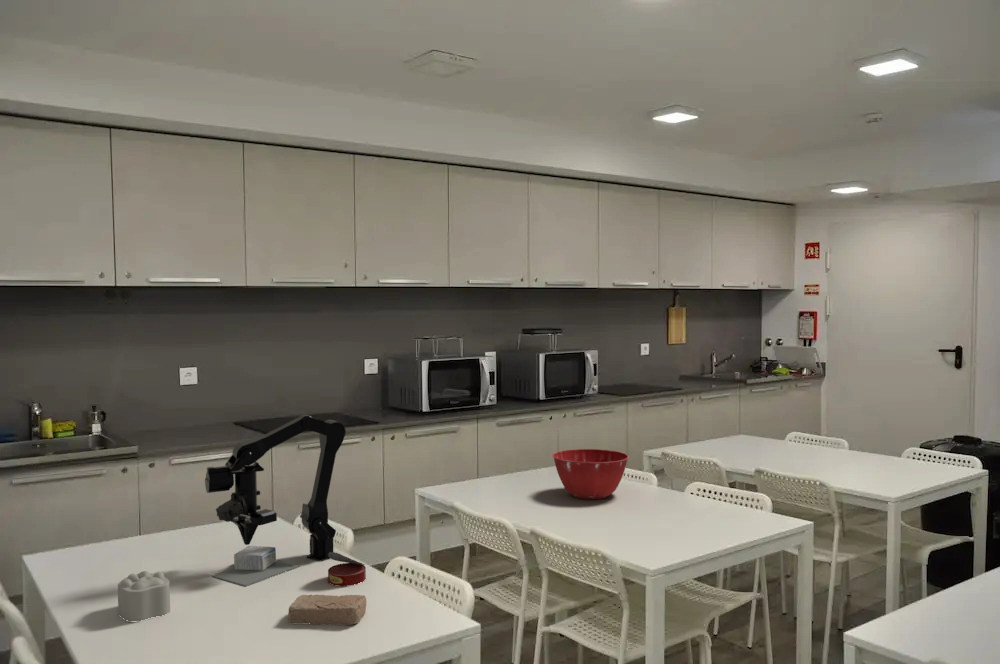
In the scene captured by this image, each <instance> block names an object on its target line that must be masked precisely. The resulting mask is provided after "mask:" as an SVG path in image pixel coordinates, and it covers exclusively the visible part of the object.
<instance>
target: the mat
mask: <svg viewBox="0 0 1000 664" xmlns="http://www.w3.org/2000/svg"><path fill="white" fill-rule="evenodd" d="M297 567H298V568H300V565H297V564H292V563H289V562H285V561H281V560H277V559H276V562H275V563H273V564H272V565H270V566H269V567H267V568H266V569H264V570H263V571H255V570H235V569H234V567H233V568H231V569H230V568H229V569H228V570H225V571H221V572H218V573H216V574H213V575H211V577H212V578H215V579H219V580H222V581H226V582H229V583H233V584H236V585H240V586H243V587H248V586H250V585H254V584H257V583H260V582H262V581H265V580H268V579H270V577H271V578H273V577H275V575H276V576H278V574H279V575H281V573H282V574H284V573H286V572H285V571H287V572H289V571H288V570H290V571H292V569H293V570H295V569H298V568H297ZM294 568H295V569H294ZM283 572H284V573H283ZM272 576H273V577H272ZM267 578H268V579H267Z"/></svg>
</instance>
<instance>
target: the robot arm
mask: <svg viewBox="0 0 1000 664" xmlns="http://www.w3.org/2000/svg"><path fill="white" fill-rule="evenodd" d="M307 430H308V431H311V432H313V433H317V434H319V436H318V438H319V447H320V453H319V457H318V462H317V468H316V472H315V478H314V482H313V488H312V493H311V497H310V500H309V501H308V503H302V506H301V507H302V510H301V512H300V513H301V514H300V515H299V518H300V519H301V524H302V525H303V527H304V528H305V529H306V530H308V532H309V534H310V535H309V538H310V539H309V554H307V555H306V558H307V559H308V558H309V559H313V560H317V561H321V562H323V561H324V560H327V559H330V558H329V557H328V554H329V552H334V538H335V535H336V532H337V530H336V529H335V528H334V527H333V526H331V525H330V524H329V510H328V509H329V508H328V497H329V491H330V486H331V482H332V481H331V480H332V475H333V471H334V466H335V460H336V456H337V453H338V451H339V449H340V448H341V446H342V444H343V441H344V439H345V437H346V432H347V430H346V427H345V426H344V424H343V423H341V422H338V421H337V420H333V419H326V420H322V419H319V418H316V417H312V416H311V415H308V414H306V413H305V414H301V415H299V416H298V417H297V418H294V419H293V420H291V421H289V422H286V423H285V424H283V425H280V426H279V427H278V428H275V429H273V430H271V431H269V432H267V433H266V434H263V435H260V436H258V437H252V438H249V439H246V440H243V441H239V442H237V443H235V445H234V446H233V448H232V454H231V455H230V457H229V459H228V460H227V461H226V463H225V464H224V465H223V466H215V467H214V466H208V467H207V468H206V474H205V478H204V486H205V491H206V493H207V494H211V493H221V492H227V491H230V489H232V488H233V486H234V492H231V494H230V499H229V500H227V501H225V502H224V503H222V504H220V505H219V506H218V507H217V508H216V509H215V511H216V516H217V517H218V519H219V521H225V522H227V523H229V522H231V523H233V524H234V525H236V526H237V528H238V531H239V533H240V535H241V538H242V541H243V544H244V545H246V546H249V545H250V544H251V542H252V540H253V538H254V536H255V533H256V530H257V529H258V527H259V526H263V525H267V524H270V523H274V522H276V521H278V517H277V515H278V513H277V512H276V511H275V510H272V509H267V508H265V509H262V510H261V505H258V496H261V491H260V490H258V488H257V487H258V486H257V484H258V483H257V482H258V481H257V478H258V477H257V476H258V475H257V472H264V471H265V468H264V467H262V466H261V465H260V463H259V462H258V461H259V460H260V459H261V458H263V457H264V456H265V455H266V454H267V453H268V452H269V451H270V450H272V449H273V448H275V447H277V446H279V445H281V444H282V443H284V442H286V441H289V440H291V439H292V438H294V437H296V436H298V435H300V434H302V433H303V432H306V431H307Z"/></svg>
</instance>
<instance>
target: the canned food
mask: <svg viewBox="0 0 1000 664" xmlns="http://www.w3.org/2000/svg"><path fill="white" fill-rule="evenodd" d="M328 557H329V558H328V559H330V560H332V561H337V562H340V564H335V565H332V566H331V567H329V568H328V570H327V575H328V578H327V579H328V581H329V582H328V583H329V584H330V583H331V584H330V585H332V584H333V585H332V586H335V585H340V586H339V587H348V586H347V585H352V586H355V585H354V584H356V585H359V584H358V583H360V582H362V583H363V581H364V580H365V579H367V578H366V577H367V575H366V574H367V569H366V568H367V567H366V564H365V563H362V562H360V561H357V560H355V559H352V558H350V557H348V556H345V555H343V554H340V553H339V552H335V551H333V552H329V554H328ZM341 562H342V563H341ZM365 581H366V580H365ZM365 581H364V582H365ZM360 584H361V583H360Z"/></svg>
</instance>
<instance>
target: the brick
mask: <svg viewBox="0 0 1000 664" xmlns="http://www.w3.org/2000/svg"><path fill="white" fill-rule="evenodd" d="M366 610H367V597H366V595H365V594H363V595H362V594H361V595H360V594H345V595H332V594H331V595H328V594H302V595H301V594H300V595H299V596H298V597H296V599H294V601H293V602H292V603H291V604H290V605H289V606H288V612H287V615H288V624H290V623H310V624H309V625H320V624H330V626H350V625H354V624H357V623H359V622H360V621H361V620H362V618H363V617H364V616H365V614H366V613H367V612H366Z"/></svg>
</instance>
